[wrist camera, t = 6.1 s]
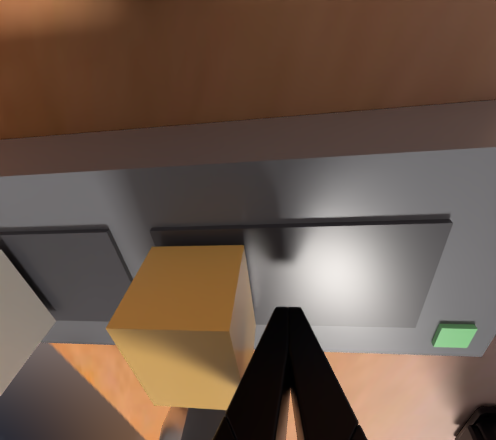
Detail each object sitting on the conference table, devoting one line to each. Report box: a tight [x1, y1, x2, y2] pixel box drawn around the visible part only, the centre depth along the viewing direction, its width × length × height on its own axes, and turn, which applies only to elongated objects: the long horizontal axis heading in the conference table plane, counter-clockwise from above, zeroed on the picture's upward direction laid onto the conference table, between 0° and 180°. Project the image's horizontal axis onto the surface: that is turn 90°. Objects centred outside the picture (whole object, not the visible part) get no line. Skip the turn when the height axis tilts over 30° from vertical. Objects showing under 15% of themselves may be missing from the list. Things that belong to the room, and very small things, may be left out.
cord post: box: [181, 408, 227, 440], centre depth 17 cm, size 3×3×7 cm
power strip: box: [0, 100, 496, 357], centre depth 12 cm, size 23×9×4 cm, turn 96°
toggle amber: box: [106, 245, 256, 410], centre depth 9 cm, size 3×4×3 cm
